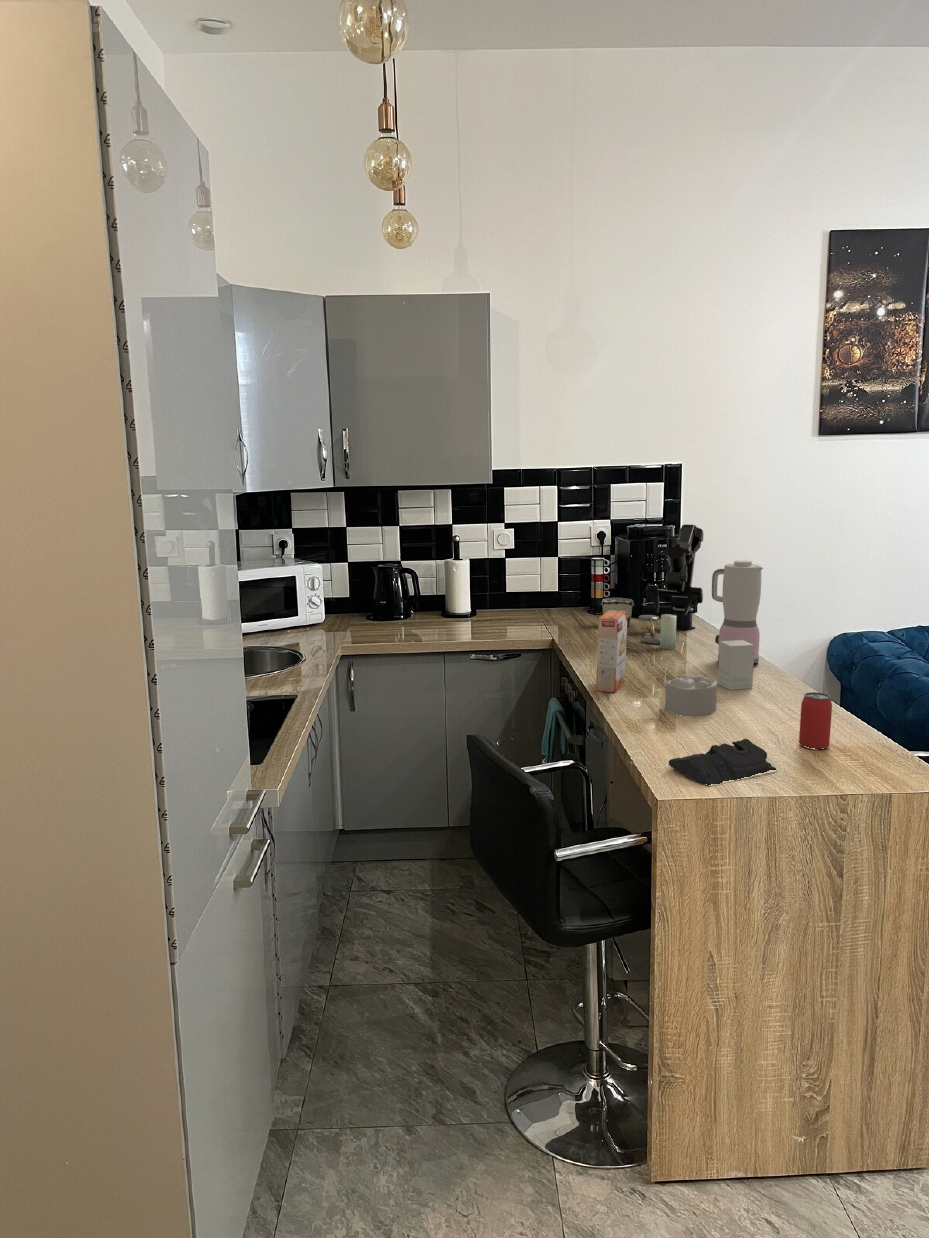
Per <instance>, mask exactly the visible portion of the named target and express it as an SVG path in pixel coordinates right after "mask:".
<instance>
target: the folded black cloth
mask: <svg viewBox="0 0 929 1238" xmlns="http://www.w3.org/2000/svg"><path fill="white" fill-rule="evenodd" d="M731 743H732V745H731V744H728V743H722V744H720V745H717V744H714V745H713V744H712V745H711V746H710V749H709V750H708V751H707V752H706V753H701V752H700V753H695V754H690V755H687V756H683V757H675V758H671V759H669V760H668V765H669V766H670V768H673V769H675V770H676V771H679V772H680V773H682V774H684V775H686V776H687V777H688V778H689V779H691V780H692V781H694V780H696V781H697V782H698V784H699V783H701V784H700V785H703V784H707V785H711V784H720V783H722V782H723V781H729V780H737V779H741V778H744V777H750V776H752V775H755V774H758V773H764V772H767V771H769V770H776V769H777V767H775V766H772V764H771V762H768V761H767V759H768V753H767V751H766V750H765V749H763V748H762V747H760V746H758V745H756V744H754V743H753V742H752V741H751V740H750V739H748V738H743V739H741V740H736V741H732V742H731ZM696 781H695V782H696ZM697 782H696V783H697ZM707 785H706V786H707ZM720 785H721V784H720Z"/></svg>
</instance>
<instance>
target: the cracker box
mask: <svg viewBox="0 0 929 1238" xmlns="http://www.w3.org/2000/svg"><path fill="white" fill-rule="evenodd" d="M627 615H628V612H626V611H614V610H609V611H607V612H606V613H605V614H604V615H603V614H602V615H601V616H600V617H598V624H597V625H598V626H597V648H596V649H597V653H596V654H597V655H596V657H597V658H596V676H595V677H596V682H595V691H596V692H601V691H602V693H612V694H616V693H617V691H618V690H619V689H620V687H621V686H622V685H623V684H624V682H625V681H626V680H625V679H626V660H627V659H626V655H627V654H626V653H627V652H626V651H627V635H628V634H627V632H628V631H627V630H628V627H627Z"/></svg>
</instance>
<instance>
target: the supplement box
mask: <svg viewBox="0 0 929 1238" xmlns="http://www.w3.org/2000/svg"><path fill="white" fill-rule="evenodd" d="M718 649H719V663H718V673H717V685H720V686H721V687H723V688H725V689H727V690H728V691H729V690H730V691H735V690H751V689H753V681H754V664H755V663H754V645H753V644H750V643H748V642H746V641H744V640H734V641H720V647H719V646H718Z"/></svg>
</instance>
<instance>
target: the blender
mask: <svg viewBox="0 0 929 1238" xmlns="http://www.w3.org/2000/svg"><path fill="white" fill-rule="evenodd" d="M763 569H764V568H763V567H762V566H761V565H759V564H755V563H754V564H753V562H752V561H751V560H747V559H746V560H745V559H738V560H737V559H735V560H734V562H733V563H725V565H724V568H718V569H717V568H716V570H714V571H713V573H712V577H711V598H712V599H713V600H714V601H716V602H719V603H722V606H723V622H722V624H721V626H720V628H719V630H718V631H719V633H718V634H717V635H716V636H715V640H714V642H715V644H717V645H718V654H717V661H718V664H719V647H720V641H734V640H744V641H746V642H748V643H750V644H753V645H754V663H753V664H757V665H758V664H759V662H760V661H759V660H760V655H759V654H760V653H759V651H760V638H761V636H760V635H761V633H760V628H759V626H758V624H757V615H758V611H759V606H760V603H761V595H762V571H763ZM720 575H723V578H722V596H720V595H718V581H719V576H720Z"/></svg>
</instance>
